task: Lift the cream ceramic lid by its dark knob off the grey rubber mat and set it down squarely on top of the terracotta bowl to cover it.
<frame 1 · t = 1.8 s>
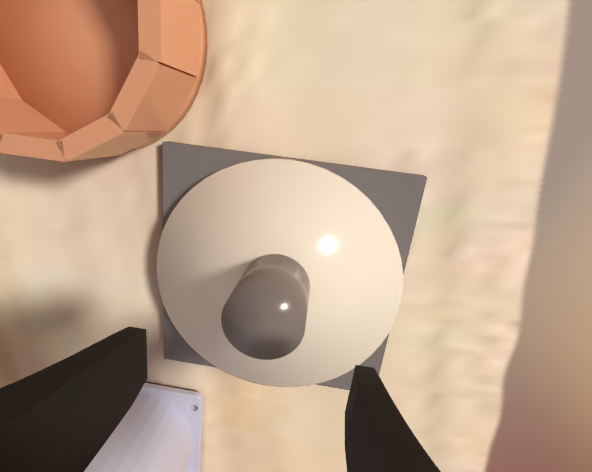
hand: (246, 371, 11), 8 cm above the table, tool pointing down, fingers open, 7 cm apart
lid: (278, 279, 18), point 1 cm above the table, touching mat
bowl: (97, 34, 16), on the table
mat: (279, 275, 19), on the table
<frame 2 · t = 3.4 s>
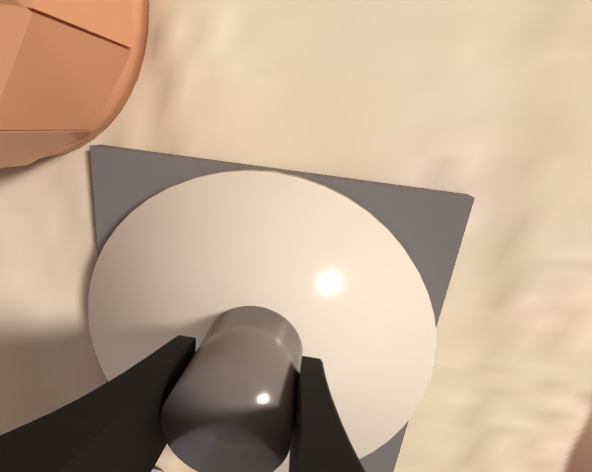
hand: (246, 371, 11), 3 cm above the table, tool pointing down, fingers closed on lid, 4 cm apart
lid: (258, 335, 13), point 1 cm above the table, touching gripper, mat
mat: (262, 327, 14), on the table
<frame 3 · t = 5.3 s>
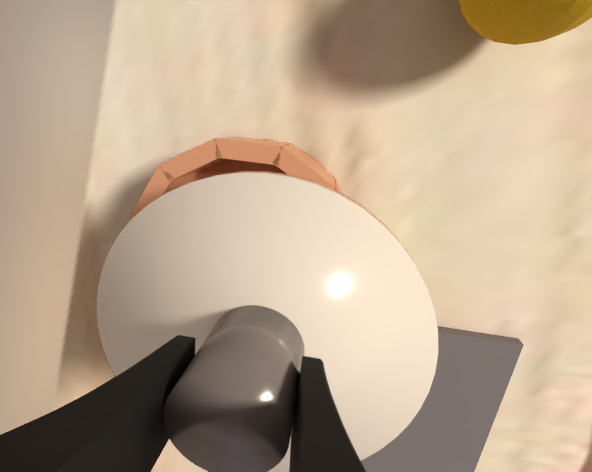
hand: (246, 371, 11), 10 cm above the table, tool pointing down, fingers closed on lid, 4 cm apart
lid: (262, 335, 13), point 8 cm above the table, touching gripper
bowl: (259, 232, 20), on the table
mat: (390, 403, 23), on the table
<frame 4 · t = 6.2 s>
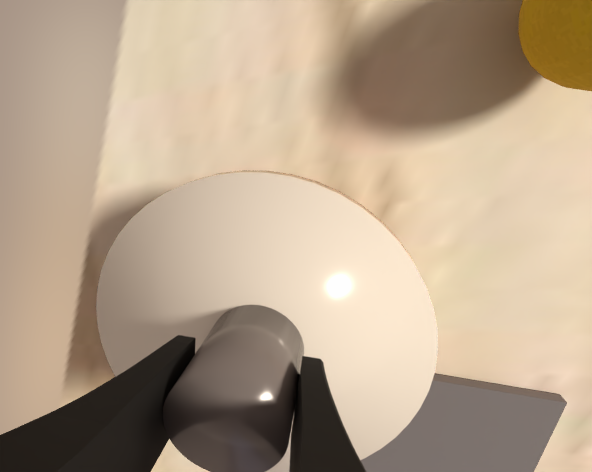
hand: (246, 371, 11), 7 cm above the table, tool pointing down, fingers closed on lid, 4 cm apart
lid: (261, 334, 13), point 5 cm above the table, touching gripper
mat: (416, 457, 21), on the table
lemon: (551, 28, 14), on the table
when the fingers open (7 cm above the table, at t = 7.1 s): lid stays where it is, resting on bowl.
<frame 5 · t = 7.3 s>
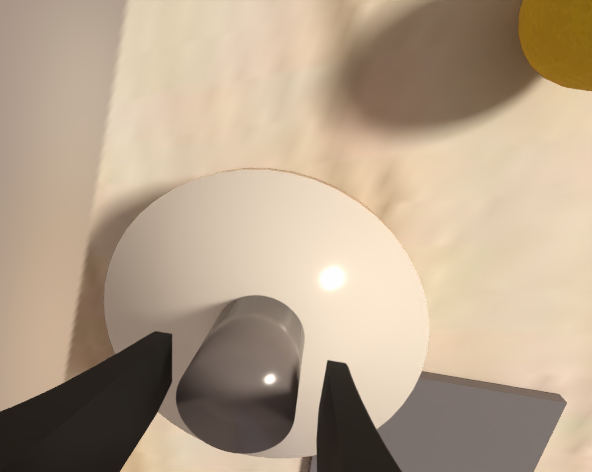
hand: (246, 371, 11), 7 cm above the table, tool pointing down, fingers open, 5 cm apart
lid: (263, 324, 14), point 4 cm above the table, touching bowl
mat: (416, 457, 21), on the table
lemon: (550, 29, 14), on the table
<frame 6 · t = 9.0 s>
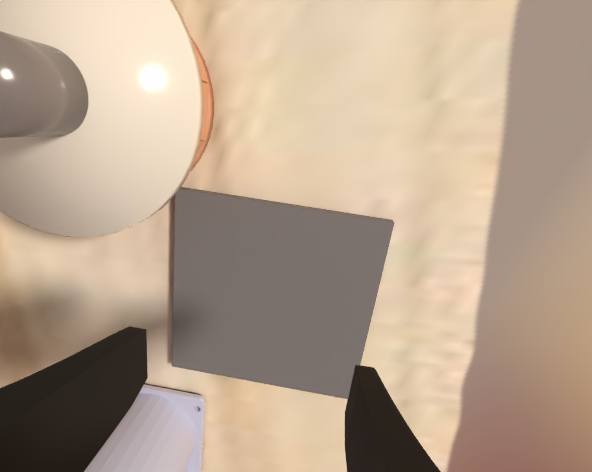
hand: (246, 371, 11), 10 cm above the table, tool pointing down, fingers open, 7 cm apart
lid: (62, 93, 15), point 4 cm above the table, touching bowl
bowl: (122, 100, 19), on the table
mat: (272, 298, 22), on the table
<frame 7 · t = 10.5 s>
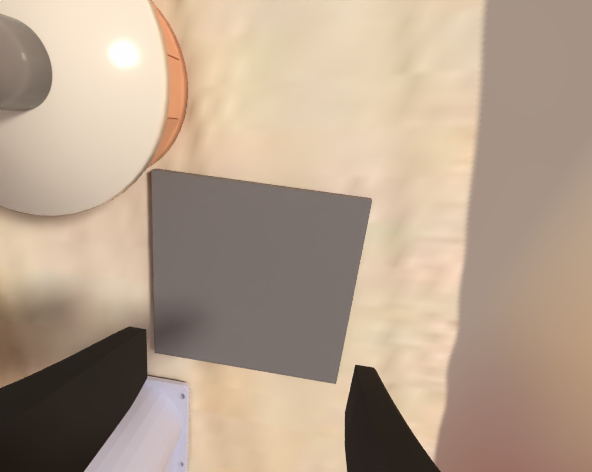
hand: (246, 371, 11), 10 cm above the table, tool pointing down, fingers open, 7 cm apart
lid: (28, 68, 15), point 4 cm above the table, touching bowl
bowl: (96, 81, 19), on the table
mat: (253, 281, 22), on the table
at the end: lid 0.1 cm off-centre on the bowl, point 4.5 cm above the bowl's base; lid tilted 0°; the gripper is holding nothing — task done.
